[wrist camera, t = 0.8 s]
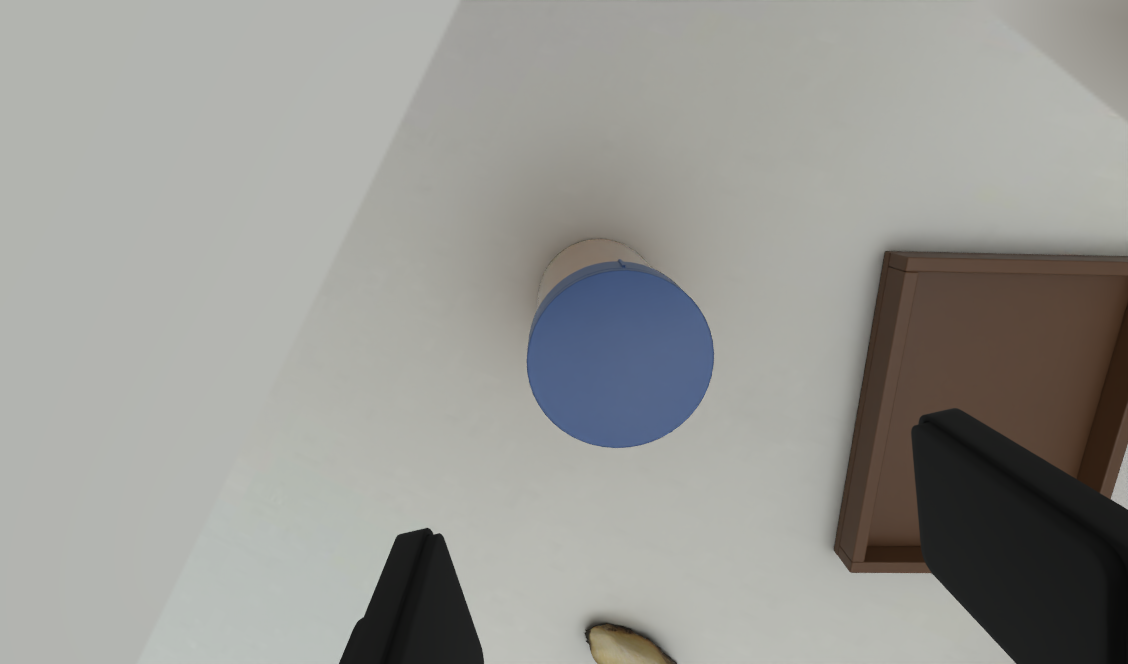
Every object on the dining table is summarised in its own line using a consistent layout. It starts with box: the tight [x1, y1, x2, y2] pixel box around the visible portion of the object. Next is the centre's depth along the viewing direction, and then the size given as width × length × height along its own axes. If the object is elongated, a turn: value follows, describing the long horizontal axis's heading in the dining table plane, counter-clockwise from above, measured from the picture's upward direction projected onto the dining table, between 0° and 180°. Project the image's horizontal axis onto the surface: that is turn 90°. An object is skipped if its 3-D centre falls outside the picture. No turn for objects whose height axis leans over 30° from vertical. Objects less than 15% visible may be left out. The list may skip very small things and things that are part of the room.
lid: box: [527, 259, 714, 448], centre depth 21 cm, size 6×6×2 cm
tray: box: [834, 251, 1128, 573], centre depth 32 cm, size 17×13×2 cm
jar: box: [537, 239, 652, 310], centre depth 26 cm, size 6×6×10 cm
